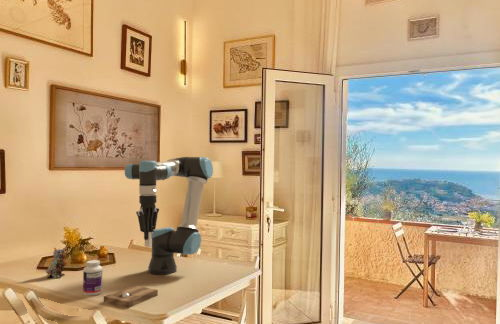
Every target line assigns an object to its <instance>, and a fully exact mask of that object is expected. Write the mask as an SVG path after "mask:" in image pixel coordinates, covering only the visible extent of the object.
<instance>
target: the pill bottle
mask: <svg viewBox="0 0 500 324" xmlns="http://www.w3.org/2000/svg"><path fill="white" fill-rule="evenodd" d="M100 262H101V261H100V260H99V259H92V260H88V261H86V266H84V268H83V274H82V278H83V279H82V280H83V281H82V282H83V283H82V284H83V285H82V287H83V288H82V292H83V295H85V296H97V295H99V294H101V293H102V292H103V267H102V265H100V264H101V263H100Z"/></svg>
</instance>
